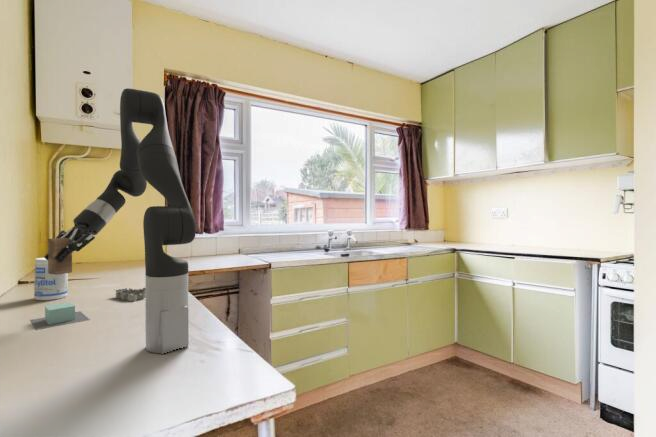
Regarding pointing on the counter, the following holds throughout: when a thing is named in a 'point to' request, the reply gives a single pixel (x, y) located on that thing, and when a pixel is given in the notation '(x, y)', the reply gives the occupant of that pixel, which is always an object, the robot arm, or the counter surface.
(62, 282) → the supplement tub
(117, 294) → the egg carton
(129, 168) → the robot arm
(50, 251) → the pillar
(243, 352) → the counter surface
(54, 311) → the plinth
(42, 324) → the mat
